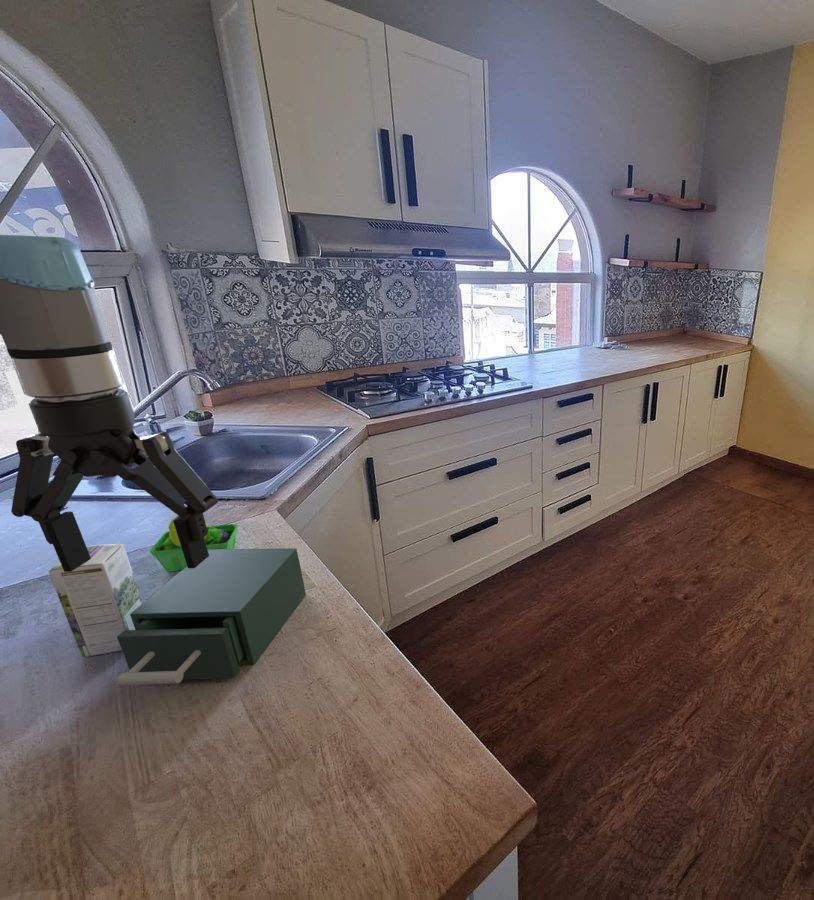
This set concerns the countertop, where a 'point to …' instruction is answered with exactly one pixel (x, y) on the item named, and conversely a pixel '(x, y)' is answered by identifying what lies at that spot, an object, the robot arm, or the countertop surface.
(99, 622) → the syrup box
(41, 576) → the countertop surface
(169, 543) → the fruit basket
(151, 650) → the green drawer
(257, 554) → the green drawer cabinet
